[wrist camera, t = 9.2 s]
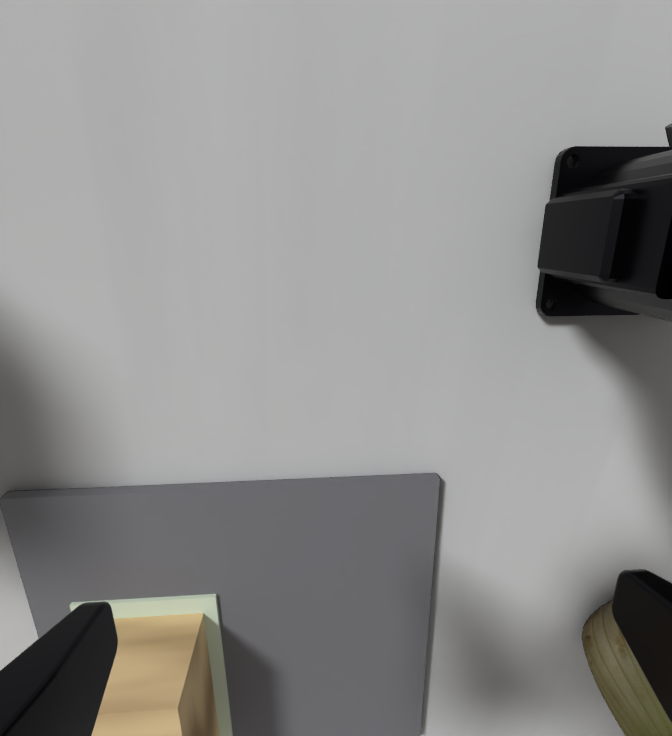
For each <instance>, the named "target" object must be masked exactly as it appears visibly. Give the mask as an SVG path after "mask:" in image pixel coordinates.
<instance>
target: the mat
mask: <svg viewBox="0 0 672 736" xmlns="http://www.w3.org/2000/svg"><path fill="white" fill-rule="evenodd" d="M439 486H440V479H439V477H438V475H437V473H423V474H400V475H377V476H353V477H330V478H307V479H284V480H261V481H238V482H215V483H192V484H169V485H146V486H123V487H100V488H77V489H54V490H31V491H8V492H6V493H5V494H4V495H3V496H2V497H1V498H0V506H1V509H2V513H3V516H4V520H5V523H6V527H7V530H8V534H9V537H10V540H11V544H12V547H13V551H14V554H15V558H16V561H17V565H18V568H19V572H20V575H21V578H22V582H23V585H24V589H25V592H26V596H27V599H28V603H29V606H30V610H31V613H32V616H33V620H34V623H35V627H36V630H37V634H38V637H39V638H40V637H42V636H43V635H44V634H45V633H46V632H48V631H49V630H50V629H51V628H52V627H54V626H55V625H56V624H57V623H58V622H60V621H61V620H62V619H63V618H64V617H66V616H67V615H68V614H69V613H70V612H72V611H73V610H74V609H75V608H76V607H78V606H79V605H81V604H83V603H86V602H102V601H105V602H108V603H109V604H110V605H111V608H112V613H113V617H114V619H116V618H132V617H148V616H164V615H180V614H196V613H203V614H204V622H205V629H206V637H207V644H208V652H209V660H210V667H211V675H212V682H213V690H214V697H215V705H216V712H217V720H218V728H219V735H220V736H420V732H421V719H422V706H423V693H424V680H425V667H426V654H427V641H428V629H429V616H430V603H431V590H432V577H433V564H434V551H435V538H436V525H437V512H438V499H439Z"/></svg>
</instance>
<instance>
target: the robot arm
mask: <svg viewBox="0 0 672 736" xmlns="http://www.w3.org/2000/svg"><path fill="white" fill-rule="evenodd" d="M665 129H666V134H667V138H668V143H669V147H582V146H575V147H571V148H568V149H564V150H563V151H562V152H560V153H559V155H558V156H557V158H556V161H555V166H554V173H553V180H552V188H551V195H550V201H549V202H548V203H547V204H546V207H545V214H544V222H543V229H542V236H541V244H540V251H539V259H538V268H539V269H540V276H539V283H538V291H537V298H536V309H537V311H538V312H539V313H541V314H543V315H546V316H590V315H639V314H643V315H647V316H651V317H655V318H659V319H664V320H668V321H672V124H670V125H668V126H666V127H665ZM569 156H572V158H573V161H574V163H573V166H572V167H571V168H569V167H568V165H567V159H568V157H569ZM550 299H552V300H553V304H552V306H551V307H550V308H548V309H547V307H546V304H547V302H548V301H549V300H550ZM611 606H612V614H613V617H614V619H615V622H616V624H617V625H618V627H619V629H620V631H621V633H622V635H623V636H624V638H625V640H626V642H627V644H628V646H629V647H630V649H631V651H632V653H633V655H634V657H635V658H636V660H637V662H638V664H639V666H640V668H641V670H642V671H643V673H644V675H645V677H646V679H647V681H648V682H649V684H650V686H651V688H652V690H653V692H654V693H655V695H656V697H657V699H658V701H659V702H660V704H661V706H662V708H663V709H664V711H665V713H666V715H667V716H668V718H669V720H670V721H671V723H672V583H670V582H668V581H666V580H664V579H663V578H661V577H659V576H657V575H655V574H653V573H651V572H650V571H647V570H642V569H638V570H624V571H622V572H621V573H620V574H619V576H618V580H617V584H616V588H615V592H614V596H613V600H612V605H611ZM117 646H118V636H117V631H116V627H115V622H114V617H113V613H112V608H111V605H110V604H109V603H108V602H105V601H102V602H86V603H83V604H81V605H79V606H78V607H76V608H75V609H74V610H73V611H72V612H70V613H69V614H68V615H67V616H66V617H64V618H63V619H62V620H61V621H60V622H58V623H57V624H56V625H55V626H54V627H52V628H51V629H50V630H49V631H48V632H46V633H45V634H44V635H43V636H42V637H40V638H39V639H38V640H37V641H36V642H34V643H33V644H32V645H31V646H30V647H28V648H27V649H26V650H25V651H24V652H22V653H21V654H20V655H19V656H18V657H16V658H15V659H14V660H13V661H12V662H10V663H9V664H8V665H7V666H6V667H4V668H3V669H2V670H1V671H0V736H91V735H92V732H93V729H94V726H95V722H96V719H97V716H98V712H99V709H100V706H101V702H102V699H103V696H104V692H105V689H106V686H107V682H108V679H109V676H110V672H111V669H112V666H113V663H114V659H115V656H116V652H117Z"/></svg>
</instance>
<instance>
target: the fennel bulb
mask: <svg viewBox="0 0 672 736" xmlns="http://www.w3.org/2000/svg"><path fill="white" fill-rule="evenodd" d="M611 605H612V601H610V602H608V603H607V604H606V605H604V606H601V608H599V609H598V610H597V611H595V612H594V614H593V615H591V616H590V617H589V619H588V620H587V621H586V623H585V625H584V627H583V632H582V641H583V647H584V651H585V655H586V658H587V661H588V664H589V667H590V669H591V672H592V674H593V676H594V679H595V681H596V683H597V686H598V688H599V690H600V692H601V694H602V696H603V698H604V699H605V701H606V703H607V705H608V707H609V709H610V710H611V712H612V714H613V716H614V717H615V719H616V721H617V722H618V724H619V726H620V728H621V729H622V730H623V733H624V734H625V736H672V723H671V721H670V720H669V718H668V716H667V715H666V713H665V711H664V709H663V708H662V706H661V704H660V702H659V701H658V699H657V697H656V695H655V693H654V692H653V690H652V688H651V686H650V684H649V682H648V681H647V679H646V677H645V675H644V673H643V671H642V670H641V668H640V666H639V664H638V662H637V660H636V658H635V657H634V655H633V653H632V651H631V649H630V647H629V646H628V644H627V642H626V640H625V638H624V636H623V635H622V633H621V631H620V629H619V627H618V625H617V624H616V622H615V619H614V617H613V614H612V606H611Z"/></svg>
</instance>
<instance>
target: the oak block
mask: <svg viewBox="0 0 672 736" xmlns="http://www.w3.org/2000/svg"><path fill="white" fill-rule="evenodd" d="M114 622H115V627H116V631H117V636H118V646H117V652H116V656H115V659H114V663H113V666H112V669H111V672H110V676H109V679H108V682H107V686H106V689H105V692H104V696H103V699H102V702H101V706H100V709H99V712H98V716H97V719H96V722H95V726H94V729H93V732H92V735H91V736H220V735H219V728H218V720H217V712H216V705H215V697H214V690H213V682H212V675H211V667H210V660H209V652H208V644H207V637H206V629H205V622H204V614H203V613H196V614H180V615H164V616H148V617H132V618H116V619H114Z"/></svg>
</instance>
